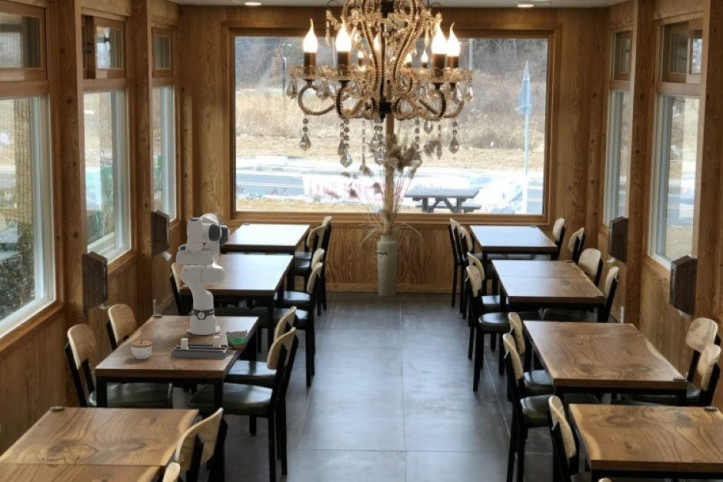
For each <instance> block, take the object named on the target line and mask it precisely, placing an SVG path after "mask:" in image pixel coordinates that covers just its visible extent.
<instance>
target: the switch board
mask: <svg viewBox="0 0 723 482" xmlns="http://www.w3.org/2000/svg"><path fill="white" fill-rule="evenodd" d="M213 346H214V344H211V343H210V344H209V343H206V344H205V343H188V348H189V349H180V348H181V342H180V343H178V344H177V345H176V346H174V348H173V349H172V350H171V358H193V359H194V358H197V359H199V358H200V359H204V358H205V359H226V357H227V356H228V355H229V354H230V350H229V347H228V344H220V346H221V347H213Z"/></svg>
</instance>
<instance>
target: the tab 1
mask: <svg viewBox="0 0 723 482" xmlns="http://www.w3.org/2000/svg"><path fill="white" fill-rule="evenodd" d="M188 341H189V338H188V337H187V338H183V337H182V338H181V339H180V344H181V348H180V349H189V348H188V344H189V342H188Z"/></svg>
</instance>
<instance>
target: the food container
mask: <svg viewBox="0 0 723 482" xmlns="http://www.w3.org/2000/svg"><path fill="white" fill-rule="evenodd" d="M248 334H249V332H248V330H247V328H246V329H245V330H235V331H228V330H227V331H226V332H225V336H226V340H227V347H229V351H236V352H237V351H243V350H245V349H246V345H247V344H246V342H247V336H248Z"/></svg>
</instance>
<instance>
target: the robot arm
mask: <svg viewBox="0 0 723 482" xmlns="http://www.w3.org/2000/svg"><path fill="white" fill-rule="evenodd" d="M187 220H188V221H187V225H186V236H187V240H186V243H185V244H183V245H180V246H178V247H177V250H178V251H177V252H176V255H175V263H176V264H177V265H182V268H181V270H180V272H179V274H180V275H179V276H180V280H181V281H182V282H183V283H184V284H185V285H187V286H188V288H189V289H190V291H191V294H192V299H193V308H192V315H191V317H190V319H189V328H188V329H187V330H186V332H187V333H190V334H192V335H198V336H199V335H201V336H206V335H207V336H208V335H214V334H218V333H219V334H220V333H221V330H220V329H221V328H220V325H219V324H218V323H217V317H216V316H215V308H214V296H213V293H212V292H211V291H210V290H207V289H206V288H204V286H203V285H208V286H209V285H211V286H212V285H213V286H214V285H219V284H223V283H224V282H225V280H226V279H227V274H226V269H225V268H224V267H223V266H220V265H219V264H218V261H219V256H220V246H221V247H224V246H225V244H226V243H228V242H229V240H230V237H231V231H230V230H231V229H230V227H229V226H228V225H224V224H222V225H221V222H220V221H219V220H218V217H217V216H216V215H215V214H213V213H211V212H209V213H204V214H202V215H201V216H199V217H194V216H193V217H190V218H188V219H187ZM204 243H205V244H204Z"/></svg>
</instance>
